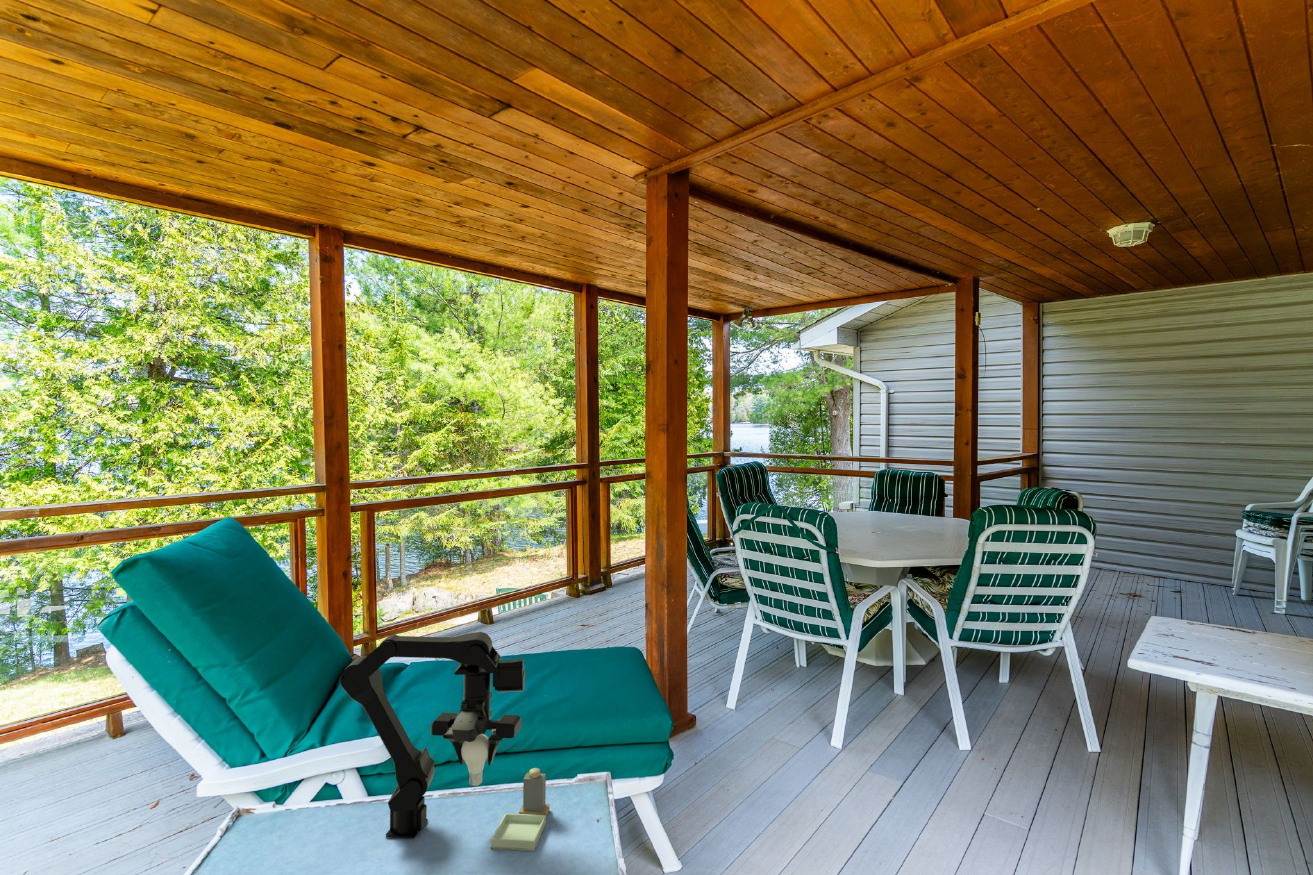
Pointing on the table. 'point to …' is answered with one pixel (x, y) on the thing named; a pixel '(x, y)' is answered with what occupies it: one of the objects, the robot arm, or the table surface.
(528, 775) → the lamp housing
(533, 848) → the tray
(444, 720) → the robot arm
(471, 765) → the lightbulb
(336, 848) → the table surface
